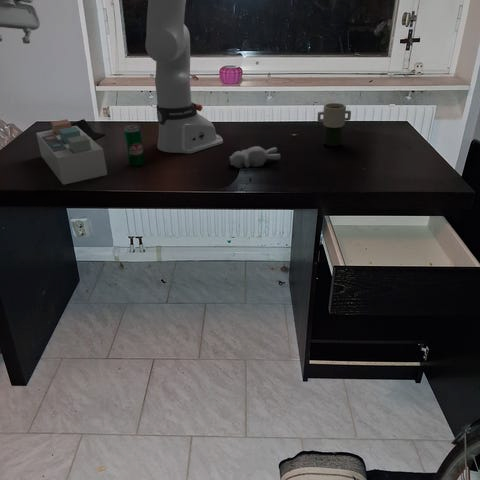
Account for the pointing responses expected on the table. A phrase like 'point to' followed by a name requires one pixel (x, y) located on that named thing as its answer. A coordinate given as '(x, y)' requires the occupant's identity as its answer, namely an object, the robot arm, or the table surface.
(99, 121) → the table surface
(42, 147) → the keypad
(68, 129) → the teal key
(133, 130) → the soda can
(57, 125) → the terracotta key
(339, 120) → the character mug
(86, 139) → the sage green key
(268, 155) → the bunny figurine
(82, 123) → the handheld gaming console
